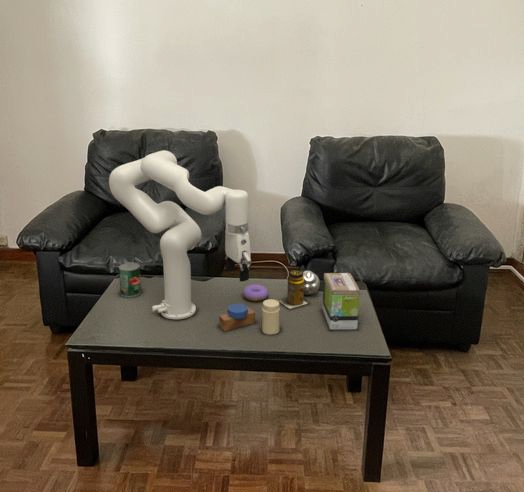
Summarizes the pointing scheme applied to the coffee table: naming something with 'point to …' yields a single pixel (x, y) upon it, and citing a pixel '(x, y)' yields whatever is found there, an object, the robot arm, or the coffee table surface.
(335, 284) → the tea box
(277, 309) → the jar
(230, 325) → the block
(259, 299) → the donut
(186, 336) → the coffee table surface
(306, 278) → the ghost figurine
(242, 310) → the lid
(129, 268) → the canned tomato
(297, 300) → the condiment
